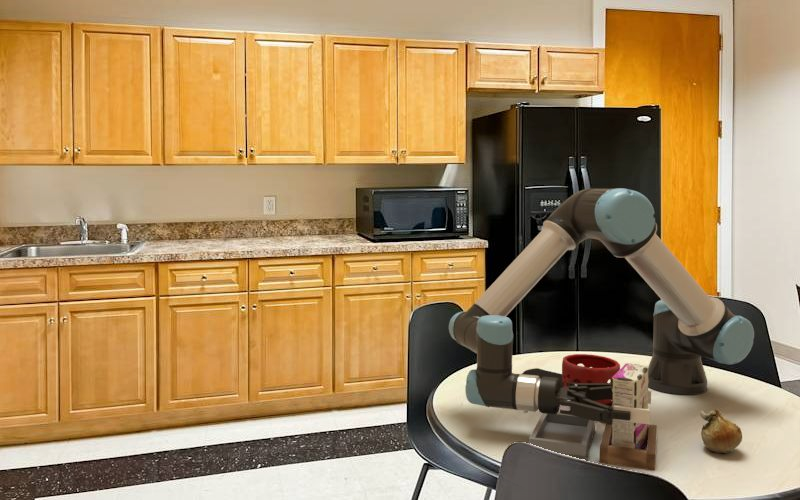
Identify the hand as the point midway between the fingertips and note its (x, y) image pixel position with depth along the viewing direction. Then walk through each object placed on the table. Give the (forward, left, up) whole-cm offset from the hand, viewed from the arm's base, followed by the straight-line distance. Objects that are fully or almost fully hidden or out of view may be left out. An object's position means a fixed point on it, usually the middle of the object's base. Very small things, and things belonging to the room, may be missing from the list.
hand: (650, 406), depth 133 cm
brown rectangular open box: (+4, 0, -9) cm, 10 cm away
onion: (-13, -6, -10) cm, 17 cm away
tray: (+17, 0, -9) cm, 19 cm away
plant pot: (+14, -22, -10) cm, 28 cm away
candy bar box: (+4, 0, -10) cm, 10 cm away
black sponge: (+25, -34, -10) cm, 44 cm away
